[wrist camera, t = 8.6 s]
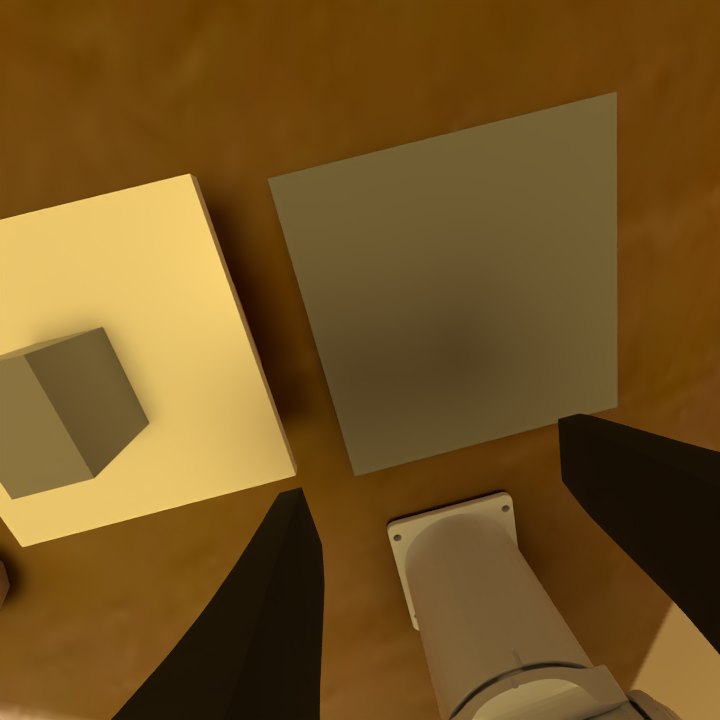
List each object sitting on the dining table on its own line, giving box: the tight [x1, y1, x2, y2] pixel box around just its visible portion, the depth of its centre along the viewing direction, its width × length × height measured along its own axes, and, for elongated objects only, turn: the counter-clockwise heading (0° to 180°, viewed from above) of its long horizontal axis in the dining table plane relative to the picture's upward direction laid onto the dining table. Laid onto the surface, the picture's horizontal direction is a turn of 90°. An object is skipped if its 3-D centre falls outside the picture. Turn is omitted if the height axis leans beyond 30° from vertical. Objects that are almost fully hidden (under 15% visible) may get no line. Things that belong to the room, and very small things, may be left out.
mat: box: [268, 92, 618, 476], centre depth 18 cm, size 16×16×1 cm
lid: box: [0, 174, 297, 547], centre depth 12 cm, size 12×12×4 cm
